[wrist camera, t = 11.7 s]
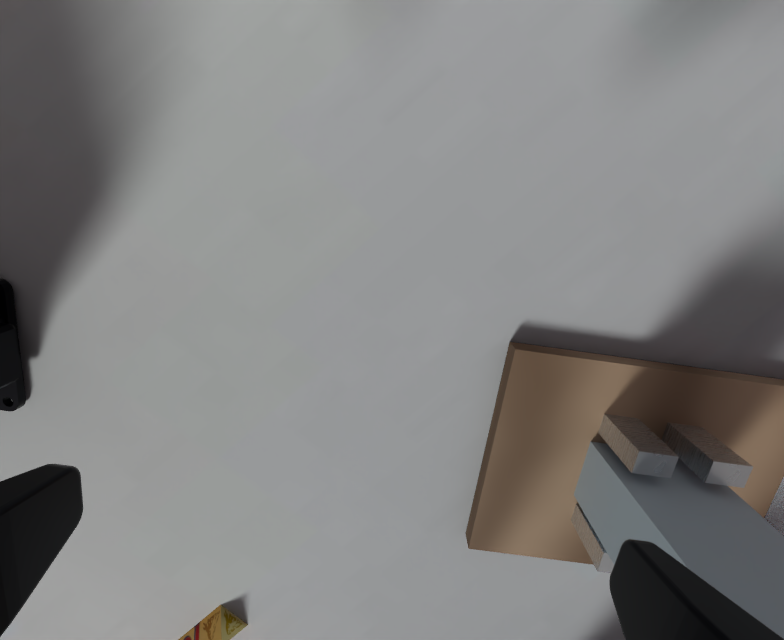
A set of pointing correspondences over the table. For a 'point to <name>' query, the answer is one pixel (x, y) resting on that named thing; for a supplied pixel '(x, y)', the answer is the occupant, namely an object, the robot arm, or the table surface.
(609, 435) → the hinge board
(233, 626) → the orange pencil
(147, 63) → the table surface
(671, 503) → the pale blue rectangular box
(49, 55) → the table surface
